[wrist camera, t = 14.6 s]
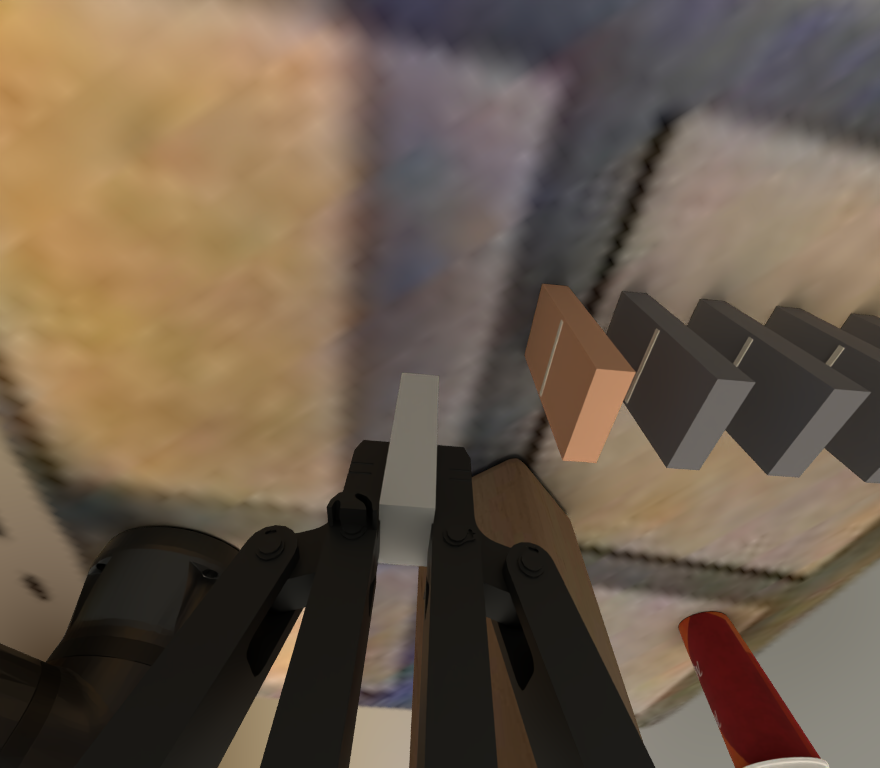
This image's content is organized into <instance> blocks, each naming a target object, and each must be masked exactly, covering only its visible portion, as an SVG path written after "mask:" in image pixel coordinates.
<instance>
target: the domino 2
mask: <svg viewBox="0 0 880 768" xmlns="http://www.w3.org/2000/svg"><path fill="white" fill-rule="evenodd" d="M687 327H689V328H690V329H691V330H692V331H693V332H695V333H696V334H697V335H698V336H700V337H701V338H702V339H703V340H704V341H706V342H707V343H708V344H709V345H711V346H712V347H713V348H714V349H715V350H717V351H718V352H719V353H720V354H722V355H723V356H724V357H725V358H726V359H728V360H729V361H730V362H731V363H733V364H734V365H735V366H736V367H737V368H739V369H740V370H741V371H742V372H744V373H745V374H746V375H747V376H748V377H750V378H751V379H752V380H753V381H755V382H756V383H755V384H754V386H753V387H752V389H751V390H750V392H749V393H748V395H747V397H746V398H745V400H744V401H743V403H742V404H741V406H740V407H739V409H738V411H737V412H736V414H735V415H734V417H733V418H732V420H731V421H730V423H729V425H728V426H727V428H726V429H725V430H726V431H727V432H728V434H729V435H730V436H731V437H732V438H733V439H734V440H735V441H736V442H737V443H738V444H739V445H740V446H741V447H742V449H743V450H744V451H745V452H746V453H747V454H748V455H749V456H750V457H751V458H752V459H753V460H754V461H755V462H756V464H757V465H758V466H759V467H760V468H761V469H762V470H763V471H764V472H765V473H766V474H767V475H772V476H785V477H800V476H801V475H802V473H803V472H804V471H805V470H806V469H807V467H808V466H809V465H810V464H811V463H812V462H813V460H814V459H815V458H816V457H817V456H818V454H819V453H820V452H821V451H822V450H823V449H824V447H825V446H826V445H827V444H828V443H829V442H830V440H831V439H832V438H833V437H834V436H835V434H836V433H837V432H838V431H839V430H840V429H841V427H842V426H843V425H844V424H845V423H846V421H847V420H848V419H849V418H850V417H851V416H852V414H853V413H854V412H855V411H856V410H857V408H858V407H859V406H860V405H861V404H862V403H863V401H864V400H865V399H866V398H867V397H868V396H869V394H870V393H871V392H870V391H869V390H867V389H865V388H864V387H862V386H860V385H859V384H857V383H856V382H854V381H852V380H851V379H849V378H848V377H846V376H844V375H843V374H841V373H840V372H838V371H836V370H835V369H833V368H831V367H830V366H828V365H827V364H825V363H823V362H822V361H820V360H819V359H817V358H815V357H814V356H812V355H811V354H809V353H807V352H806V351H804V350H802V349H801V348H799V347H798V346H796V345H794V344H793V343H791V342H790V341H788V340H786V339H785V338H783V337H782V336H780V335H778V334H777V333H775V332H773V331H772V330H770V329H769V328H767V327H765V326H764V325H762V324H761V323H759V322H757V321H756V320H754V319H753V318H751V317H749V316H748V315H746V314H744V313H743V312H741V311H740V310H738V309H736V308H735V307H733V306H732V305H730V304H728V303H727V302H725V301H716V300H706V299H700V300H699V302H698V304H697V306H696V309H695V311H694V313H693V315H692V317H691V319H690V321H689V323H688V325H687Z"/></svg>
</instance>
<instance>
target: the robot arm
mask: <svg viewBox="0 0 880 768" xmlns="http://www.w3.org/2000/svg"><path fill="white" fill-rule="evenodd" d="M438 392H439V376H434V375H423V374H412V373H402V375H401V381H400V387H399V393H398V398H397V404H396V410H395V416H394V421H393V427H392V433H391V439H390V442H381V441H369V440H363V441H362V442H361V443H360V444H359V446H358V447H357V448H356V449H355V450H354V454H353V457H352V461H351V465H350V468H349V473H348V476H347V479H346V483H345V486H344V490H343V492H341V493H338V494H337V495H336V496H335V497H333V498H332V499H331V500H330V502H329V504H328V506H327V514H328V523H327V524H325V525H323V526H321V527H319V528H316V529H313V530H310V531H305V532H300V533H296V534H295V533H294V532H293V530H291V529H289V528H287V527H286V526H278V525H275V526H270V527H265V528H263V529H261V530H260V531H258V532H256V533H255V534H254V535H253V536H252V537H251V538H249V539H248V540H247V542H246V543H245V544H244V546H243V547H242V548H241V550H240V551H237V550H236V549H234V548H233V547H231V546H229V545H227V544H226V543H223V542H221V541H219V540H217V539H215V538H212V537H209V536H207V535H204V534H200V533H197V532H193V531H189V530H184V529H178V528H170V527H144V528H137V529H133V530H129V531H126V532H123V533H121V534H119V535H117V536H116V537H114V538H113V539H112V540H111V541H110V542H109V543H108V544H107V546H106V547H105V548H104V549H103V551H102V552H101V553H100V554H99V556H98V557H97V558H96V560H95V561H94V562H93V564H92V566H91V568H90V570H89V573H88V576H87V578H86V581H85V583H84V586H83V589H82V591H81V594H80V597H79V599H78V602H77V605H76V607H75V610H74V613H73V615H72V618H71V621H70V623H69V626H68V629H67V631H66V633H65V635H64V637H63V639H62V640H61V642H60V643H59V645H58V646H57V647H56V649H55V650H54V651H53V653H52V654H51V655H50V657H49V658H48V660H47V661H46V662H43V661H41V660H39V659H36V658H34V657H32V656H30V655H27V654H24V653H22V652H20V651H17V650H15V649H13V648H10V647H8V646H5V645H3V644H1V643H0V768H217V767H218V766H219V764H220V762H221V760H222V758H223V756H224V755H225V753H226V751H227V749H228V747H229V745H230V743H231V741H232V739H233V738H234V736H235V734H236V732H237V730H238V728H239V727H240V725H241V723H242V721H243V719H244V717H245V715H246V714H247V712H248V710H249V708H250V706H251V704H252V702H253V700H254V699H255V697H256V695H257V693H258V691H259V689H260V688H261V686H262V684H263V682H264V680H265V678H266V676H267V675H268V673H269V671H270V669H271V667H272V665H273V663H274V662H275V660H276V658H277V656H278V654H279V652H280V650H281V649H282V647H283V645H284V643H285V641H286V639H287V637H288V636H289V634H290V632H291V630H292V628H293V626H294V624H295V623H296V621H297V619H298V617H299V615H300V613H301V611H302V610H303V608H304V607H306V608H305V611H304V615H303V619H302V622H301V626H300V629H299V633H298V636H297V640H296V643H295V647H294V650H293V654H292V657H291V661H290V664H289V668H288V671H287V675H286V678H285V682H284V685H283V689H282V692H281V696H280V699H279V703H278V706H277V710H276V713H275V717H274V720H273V724H272V727H271V731H270V734H269V738H268V742H267V745H266V748H265V752H264V755H263V759H262V763H261V766H260V768H349V763H350V756H351V750H352V743H353V736H354V729H355V722H356V716H357V709H358V702H359V696H360V689H361V682H362V675H363V668H364V662H365V655H366V648H367V641H368V635H369V628H370V621H371V614H372V608H373V601H374V594H375V587H376V572H377V565H378V563H380V564H395V565H409V566H424V567H427V577H426V584H425V591H424V598H423V599H424V600H425V601H424V622H423V643H422V664H421V686H420V707H419V728H418V750H417V768H498V762H497V750H496V737H495V724H494V712H493V699H492V686H491V673H490V661H489V648H488V635H487V623H486V617H488V618H490V619H491V622H492V625H493V628H494V631H495V634H496V637H497V641H498V644H499V647H500V650H501V653H502V657H503V660H504V663H505V666H506V669H507V673H508V676H509V679H510V682H511V685H512V688H513V692H514V695H515V698H516V701H517V704H518V708H519V711H520V714H521V717H522V720H523V724H524V727H525V730H526V733H527V736H528V740H529V743H530V746H531V749H532V752H533V755H534V759H535V762H536V765H537V768H655V766H654V764H653V762H652V760H651V758H650V756H649V754H648V752H647V750H646V748H645V746H644V744H643V741H642V739H641V737H640V735H639V733H638V731H637V729H636V727H635V725H634V723H633V721H632V719H631V717H630V715H629V713H628V711H627V709H626V707H625V705H624V703H623V701H622V699H621V697H620V695H619V693H618V691H617V689H616V687H615V685H614V683H613V681H612V678H611V676H610V674H609V672H608V670H607V668H606V666H605V664H604V662H603V660H602V658H601V656H600V654H599V652H598V650H597V648H596V646H595V644H594V642H593V640H592V638H591V636H590V634H589V632H588V630H587V628H586V626H585V624H584V622H583V620H582V618H581V616H580V613H579V611H578V609H577V607H576V605H575V603H574V601H573V599H572V597H571V595H570V593H569V591H568V589H567V587H566V585H565V583H564V581H563V579H562V577H561V575H560V573H559V571H558V569H557V567H556V565H555V563H554V561H553V559H552V558H551V556H550V555H549V554H548V552H547V551H545V550H544V549H543V548H541V547H540V546H538V545H536V544H533V543H530V542H520V543H518V544H515V545H513V546H512V547H511V548H510V547H507V546H505V545H502V544H499V543H497V542H495V541H493V540H491V539H489V538H488V537H486V536H485V535H484V534H483V533H482V532H481V531H480V530H479V528H478V526H477V524H476V521H475V515H474V502H473V488H472V474H471V461H470V457H469V455H468V454H467V452H466V450H465V449H464V447H453V446H441V445H437V429H438Z"/></svg>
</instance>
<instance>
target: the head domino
mask: <svg viewBox="0 0 880 768" xmlns="http://www.w3.org/2000/svg"><path fill="white" fill-rule="evenodd" d="M525 358H526V361H527V364H528V366H529V369H530V372H531V375H532V377H533V380H534V383H535V386H536V388H537V391H538V394H539V397H540V399H541V402H542V405H543V408H544V410H545V413H546V416H547V418H548V421H549V424H550V427H551V429H552V432H553V435H554V438H555V440H556V443H557V446H558V449H559V451H560V454H561V457H562V460H564V461H578V462H591V463H596V462H597V460H598V458H599V455H600V453H601V451H602V449H603V446H604V444H605V442H606V439H607V437H608V435H609V433H610V430H611V428H612V426H613V423H614V421H615V419H616V416H617V414H618V412H619V410H620V407H621V405H622V403H623V400H624V398H625V396H626V394H627V391H628V389H629V387H630V384H631V382H632V380H633V377H634V375H635V373H636V372H635V371H634V369H633V368H632V367H631V365H630V364H629V363H628V362H627V360H626V359H625V358H624V357H623V355H622V354H621V353H620V352H619V350H618V349H617V348H616V346H615V345H614V344H613V343H612V341H611V340H610V339H609V338H608V336H607V335H606V334H605V333H604V331H603V330H602V329H601V327H600V326H599V325H598V324H597V322H596V321H595V320H594V319H593V317H592V316H591V315H590V313H589V312H588V311H587V310H586V308H585V307H584V306H583V305H582V303H581V302H580V301H579V300H578V298H577V297H576V296H575V294H574V293H573V292H572V291H571V289H570V288H569V287H568V286H561V285H551V284H542V286H541V290H540V295H539V299H538V303H537V307H536V311H535V315H534V319H533V323H532V327H531V331H530V335H529V339H528V343H527V347H526V351H525Z"/></svg>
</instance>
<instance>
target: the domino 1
mask: <svg viewBox="0 0 880 768" xmlns="http://www.w3.org/2000/svg"><path fill="white" fill-rule="evenodd" d="M606 335H607V336H608V338H609V339H610V340H611V341H612V343H613V344H614V345H615V346H616V348H617V349H618V350H619V352H620V353H621V354H622V355H623V357H624V358H625V359H626V360H627V362H628V363H629V364H630V365H631V367H632V368H633V369H634V371H635V372H636V373H635V375H634V377H633V380H632V382H631V384H630V387H629V389H628V391H627V394H626V396H625V398H624V400H623V403H624V404H625V406H626V407H627V409H628V410H629V412H630V413H631V415H632V416H633V418H634V419H635V421H636V422H637V424H638V425H639V427H640V428H641V430H642V431H643V433H644V434H645V436H646V437H647V439H648V440H649V442H650V443H651V445H652V447H653V448H654V450H655V451H656V453H657V454H658V456H659V457H660V459H661V460H662V462H663V463H664V465H665V466H666V468H675V469H689V470H700V468H701V467H702V465H703V463H704V462H705V460H706V459H707V457H708V456H709V454H710V453H711V451H712V449H713V448H714V446H715V445H716V443H717V442H718V440H719V439H720V437H721V435H722V434H723V432H724V431H725V429H726V428H727V426H728V425H729V423H730V421H731V420H732V418H733V417H734V415H735V414H736V412H737V411H738V409H739V407H740V406H741V404H742V403H743V401H744V400H745V398H746V397H747V395H748V393H749V392H750V390H751V389H752V387H753V386H754V384H755V383H756V382H755V381H753V380H752V379H751V378H750V377H748V376H747V375H746V374H745V373H744V372H742V371H741V370H740V369H739V368H737V367H736V366H735V365H734V364H733V363H731V362H730V361H729V360H728V359H726V358H725V357H724V356H723V355H722V354H720V353H719V352H718V351H717V350H715V349H714V348H713V347H712V346H711V345H709V344H708V343H707V342H706V341H704V340H703V339H702V338H701V337H700V336H698V335H697V334H696V333H695V332H693V331H692V330H691V329H690V328H689V327H687V326H686V325H685V324H684V323H682V322H681V321H680V320H679V319H678V318H676V317H675V316H674V315H673V314H671V313H670V312H669V311H668V310H667V309H665V308H664V307H663V306H662V305H660V304H659V303H658V302H657V301H656V300H654V299H653V298H652V297H651V296H649V295H648V294H645V293H634V292H624V291H622V293H621V296H620V298H619V301H618V304H617V307H616V309H615V312H614V315H613V317H612V320H611V323H610V326H609V328H608V331H607V334H606Z"/></svg>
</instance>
